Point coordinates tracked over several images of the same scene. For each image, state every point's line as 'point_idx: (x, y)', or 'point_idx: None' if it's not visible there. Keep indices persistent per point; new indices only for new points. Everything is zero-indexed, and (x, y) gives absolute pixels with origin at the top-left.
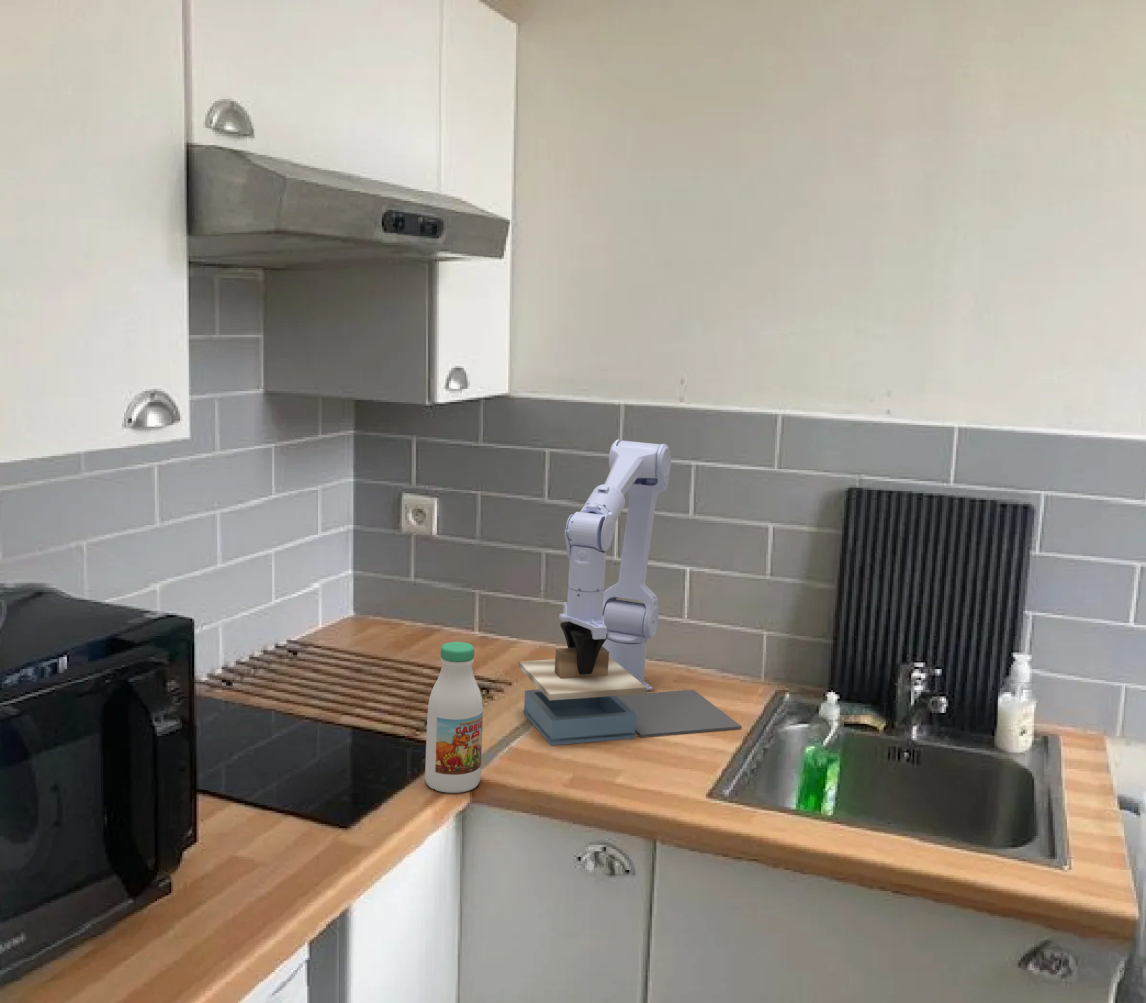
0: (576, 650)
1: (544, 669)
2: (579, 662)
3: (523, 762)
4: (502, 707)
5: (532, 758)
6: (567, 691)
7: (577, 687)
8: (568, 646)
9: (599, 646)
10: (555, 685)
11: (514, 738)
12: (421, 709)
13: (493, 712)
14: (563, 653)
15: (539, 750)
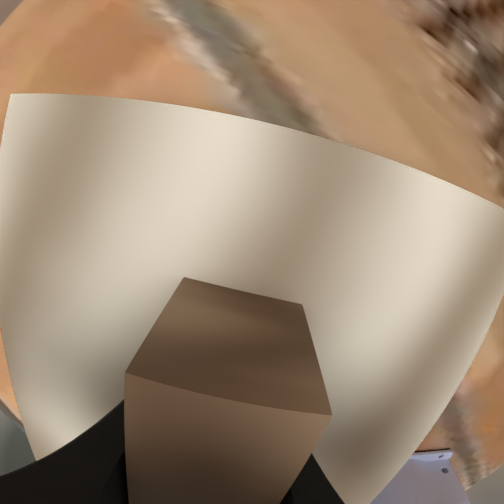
0: (96, 479)
1: (380, 279)
2: (101, 419)
3: (81, 32)
4: (456, 177)
5: (88, 59)
6: (7, 197)
7: (39, 277)
8: (315, 499)
9: None
10: (88, 179)
11: (228, 66)
12: (493, 9)
13: (437, 129)
14: (152, 400)
15: (119, 94)
